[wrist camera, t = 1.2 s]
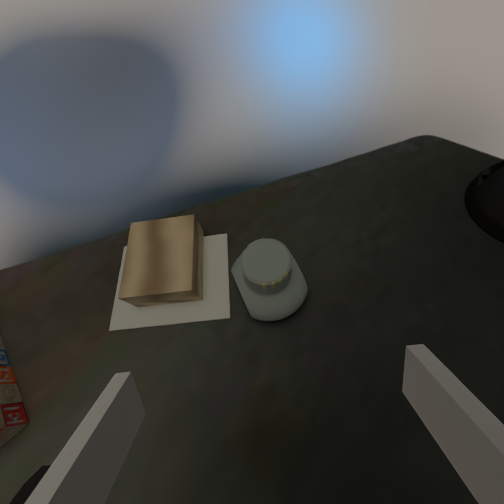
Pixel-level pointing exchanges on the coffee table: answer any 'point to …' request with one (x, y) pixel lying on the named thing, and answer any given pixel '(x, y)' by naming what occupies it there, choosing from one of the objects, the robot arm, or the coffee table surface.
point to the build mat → (185, 312)
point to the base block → (163, 262)
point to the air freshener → (269, 280)
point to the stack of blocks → (9, 401)
